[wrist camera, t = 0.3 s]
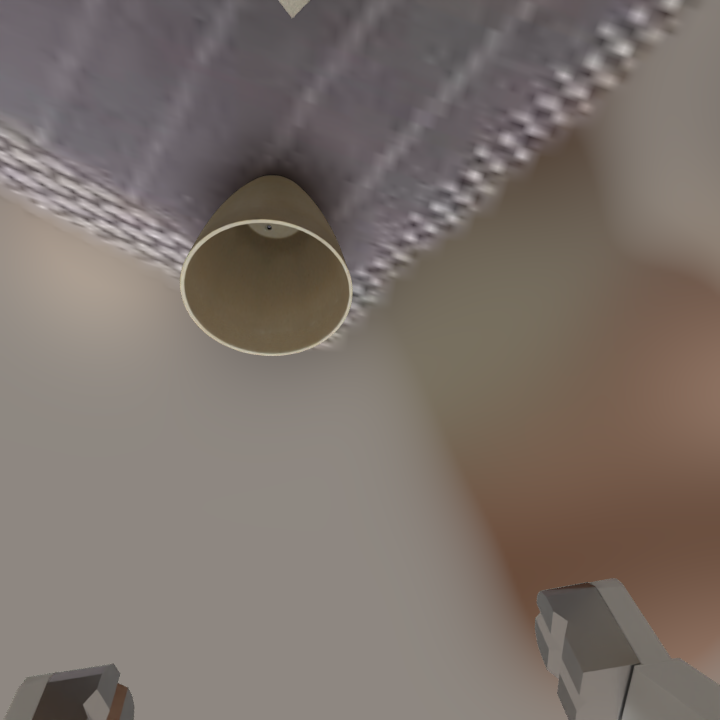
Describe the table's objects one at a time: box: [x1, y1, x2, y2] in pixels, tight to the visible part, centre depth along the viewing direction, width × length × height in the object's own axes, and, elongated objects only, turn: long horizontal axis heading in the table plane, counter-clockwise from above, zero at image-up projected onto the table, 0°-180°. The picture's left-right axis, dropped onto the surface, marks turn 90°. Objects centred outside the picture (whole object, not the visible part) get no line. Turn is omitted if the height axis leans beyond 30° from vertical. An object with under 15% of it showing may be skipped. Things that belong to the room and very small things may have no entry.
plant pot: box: [180, 175, 353, 356], centre depth 52 cm, size 15×15×16 cm
